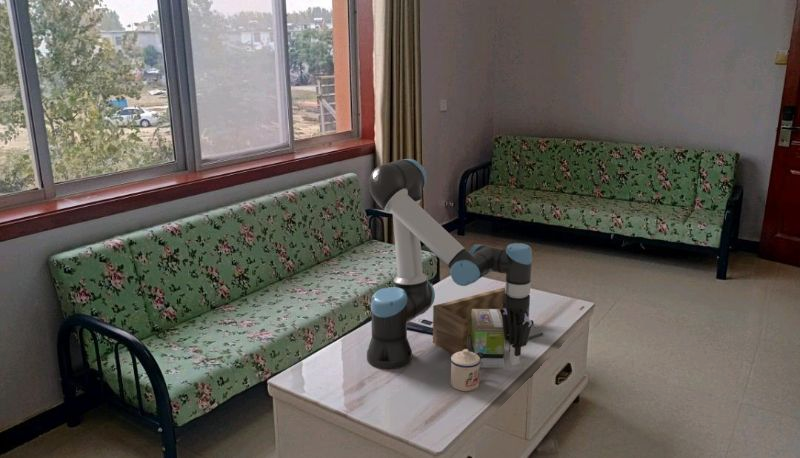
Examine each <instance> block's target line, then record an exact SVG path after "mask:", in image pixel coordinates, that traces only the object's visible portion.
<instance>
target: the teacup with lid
mask: <svg viewBox="0 0 800 458" xmlns="http://www.w3.org/2000/svg"><path fill="white" fill-rule="evenodd" d="M480 362H481V360H480V357H479V356H478V355H477V354H475V353H473V352H471V351H470V350H469V349H468V348H467V349H464V350H463V351H460V352H456V353H454V354H453V355H451V356H450V363H451V366H450V367H451V369H450V384H451V386H452V388H454V389H456V390H458V391H461V392H471V391H474V390H476V389H478V387H479V386H480V369H481V367H480Z"/></svg>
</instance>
